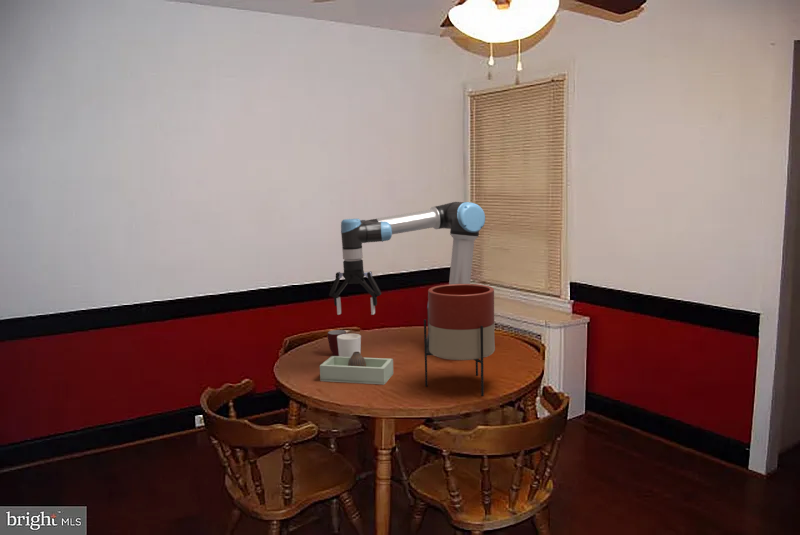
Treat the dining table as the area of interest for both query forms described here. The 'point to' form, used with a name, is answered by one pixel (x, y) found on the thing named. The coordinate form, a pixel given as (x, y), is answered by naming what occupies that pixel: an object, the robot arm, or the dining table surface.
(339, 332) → the mug
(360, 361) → the vase
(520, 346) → the dining table surface
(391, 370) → the green rectangular tray
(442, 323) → the planter
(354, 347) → the candle holder
